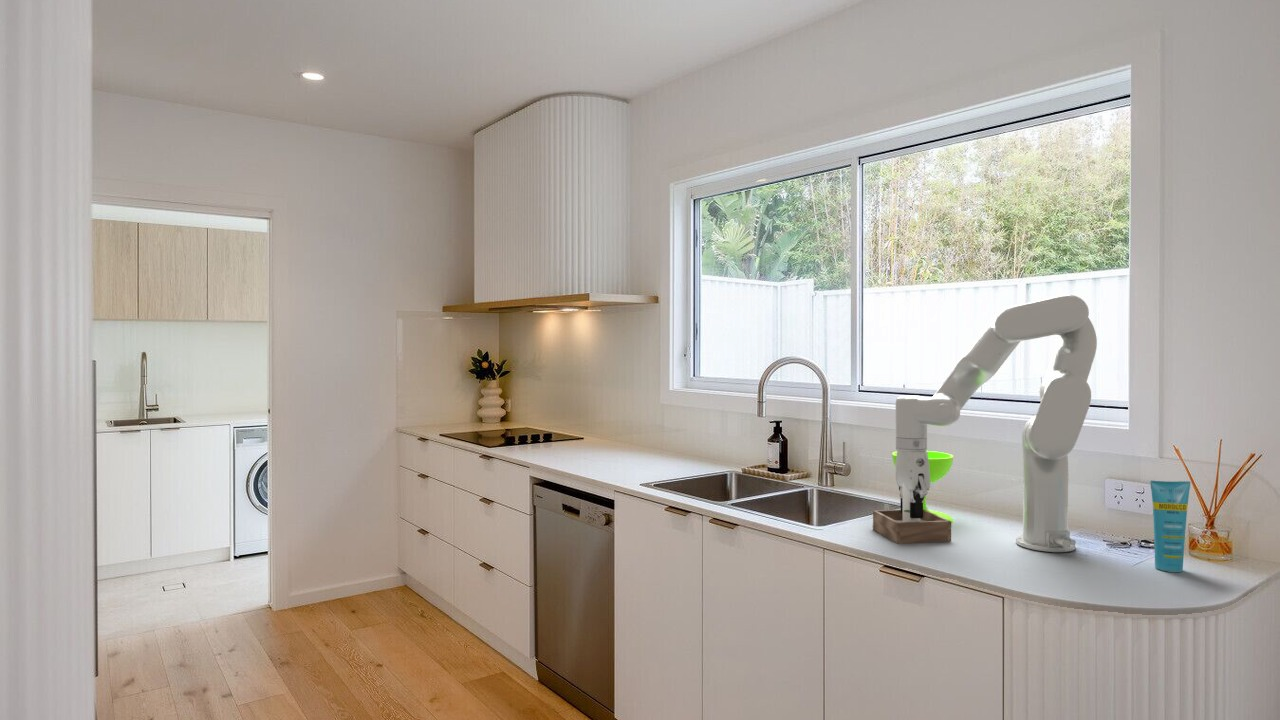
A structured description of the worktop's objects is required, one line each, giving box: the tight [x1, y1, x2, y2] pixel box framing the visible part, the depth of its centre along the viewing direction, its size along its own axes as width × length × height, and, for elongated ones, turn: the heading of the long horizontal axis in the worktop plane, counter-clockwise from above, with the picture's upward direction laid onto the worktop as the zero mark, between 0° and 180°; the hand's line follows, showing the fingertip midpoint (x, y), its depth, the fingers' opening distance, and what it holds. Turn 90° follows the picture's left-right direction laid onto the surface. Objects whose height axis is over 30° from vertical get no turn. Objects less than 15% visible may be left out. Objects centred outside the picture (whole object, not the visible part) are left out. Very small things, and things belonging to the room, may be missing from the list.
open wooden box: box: [872, 509, 952, 544], centre depth 191 cm, size 14×14×5 cm
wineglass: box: [891, 450, 954, 524], centre depth 208 cm, size 16×16×18 cm
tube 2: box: [1149, 480, 1191, 573], centre depth 160 cm, size 7×5×19 cm, turn 81°
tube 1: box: [902, 483, 920, 522], centre depth 190 cm, size 4×4×15 cm
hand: (911, 514), depth 190 cm, fingers closed on tube 1, 4 cm apart
